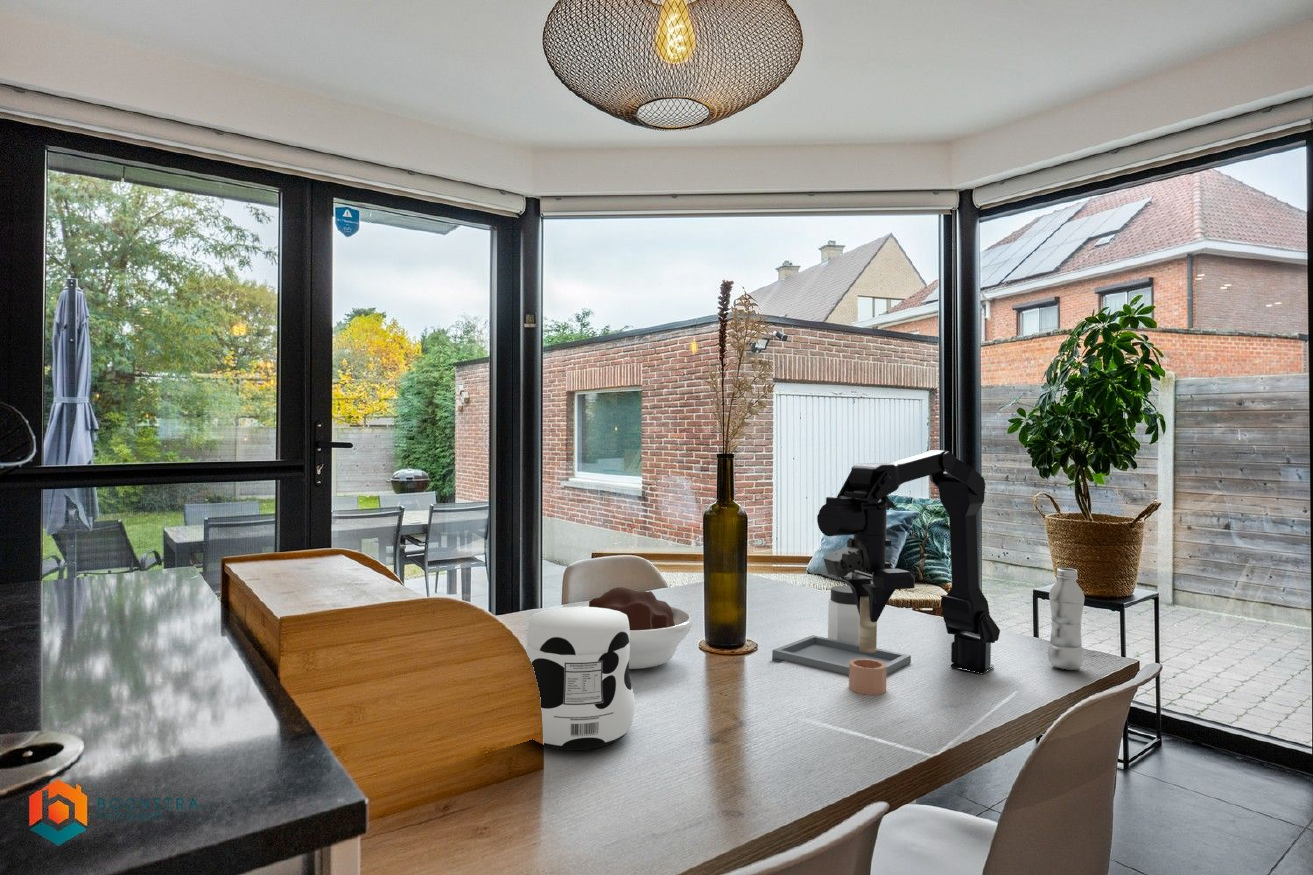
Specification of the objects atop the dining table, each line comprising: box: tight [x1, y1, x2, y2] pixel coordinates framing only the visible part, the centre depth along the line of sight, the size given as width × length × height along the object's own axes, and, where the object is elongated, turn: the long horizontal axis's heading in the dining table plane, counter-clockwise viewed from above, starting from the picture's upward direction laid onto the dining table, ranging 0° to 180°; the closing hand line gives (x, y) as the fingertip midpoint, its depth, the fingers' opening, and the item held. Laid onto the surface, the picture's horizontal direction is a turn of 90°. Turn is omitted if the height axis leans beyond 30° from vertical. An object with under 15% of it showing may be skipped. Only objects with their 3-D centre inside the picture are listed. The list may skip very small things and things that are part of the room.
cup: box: [848, 658, 887, 696], centre depth 139 cm, size 6×6×5 cm
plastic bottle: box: [1047, 567, 1086, 671], centre depth 155 cm, size 6×7×20 cm
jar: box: [827, 585, 860, 645], centre depth 172 cm, size 9×8×12 cm
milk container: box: [525, 606, 636, 751], centre depth 117 cm, size 17×17×18 cm
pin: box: [859, 596, 878, 653], centre depth 139 cm, size 3×3×10 cm
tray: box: [771, 634, 912, 677], centre depth 157 cm, size 22×16×2 cm
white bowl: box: [584, 586, 693, 670], centre depth 155 cm, size 25×25×15 cm
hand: (868, 619), depth 139 cm, fingers closed on pin, 3 cm apart
